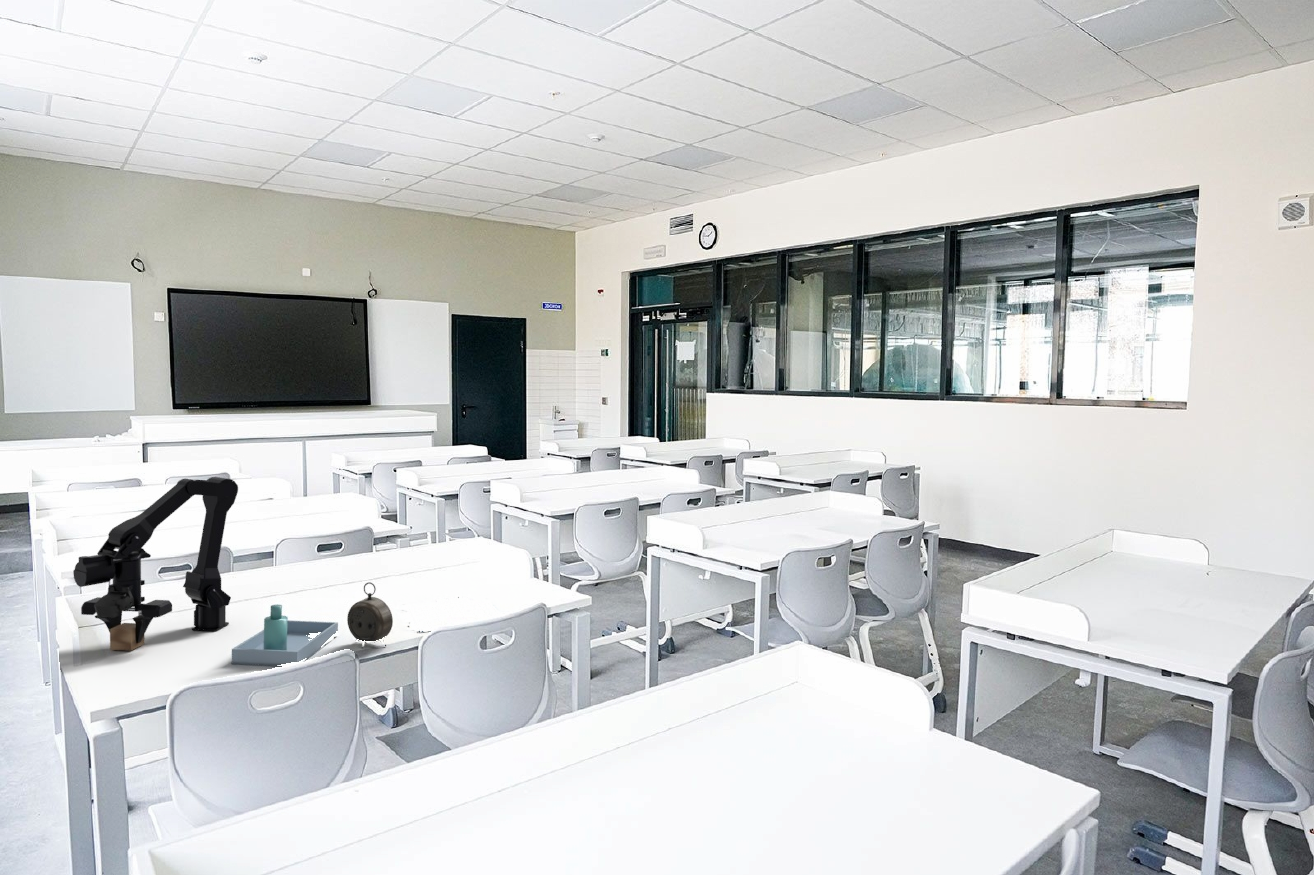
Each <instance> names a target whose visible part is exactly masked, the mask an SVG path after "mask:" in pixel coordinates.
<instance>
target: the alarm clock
mask: <svg viewBox="0 0 1314 875" xmlns="http://www.w3.org/2000/svg"><path fill="white" fill-rule="evenodd" d="M367 585H372V587H373V592H369V593H368V592H366V591H367V590H366V586H367ZM376 590H377V588H376V585H375V584H374V583H373V582H370V581H368V582H366V583H365V584H364V586H363V592H364V593H365V594H366V595H367V597H365V598H364V599H362V600H359V601H357V602H355V603H354V604H353V605H351V607H350V608H349V610H348V612H347V619H346V620H347V626H348V629H349V632H350V634H351V635H352V637H354V638H355V639H356V640H357V639H359V640H362V641H364V640H365V641H376V640H378V641H380V640H379V639H382V638H383V637H384V638H386V637H387V636H388V635H389V634H390V632H391V630H392V627H393V623H394V622H393V614H392V611H391V609H390V607H389V606H388V605H387V604H386V602H385V601H383V600H382V599H381V598H379V597H376V596H373V595H374V594H375V593H376ZM385 636H386V637H385ZM384 638H383V639H384ZM359 640H358V641H359ZM376 642H377V641H376Z"/></svg>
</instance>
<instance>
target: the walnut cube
mask: <svg viewBox="0 0 1314 875" xmlns="http://www.w3.org/2000/svg"><path fill="white" fill-rule="evenodd" d="M143 645H145V635H144V636H143V638H142V640H141V642H140V643H136V623H135V622H123V623H121V624H120V625H118V626H116V627H113V628H111V629H110V632H109V650H111V651H133V650H135V649H137V648H139V647H141V646H143Z"/></svg>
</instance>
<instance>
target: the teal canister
mask: <svg viewBox="0 0 1314 875" xmlns="http://www.w3.org/2000/svg"><path fill="white" fill-rule="evenodd" d="M263 620H264V621H263V630H264V647H263V650H286V651H287V620H289V619H288V616H286V615H283V604H272V605H270V615H269V616H266V617H264V619H263Z"/></svg>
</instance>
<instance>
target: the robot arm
mask: <svg viewBox="0 0 1314 875" xmlns="http://www.w3.org/2000/svg"><path fill="white" fill-rule="evenodd" d="M238 493H239V485H238V484H237V483H236V481H235V480H233V479H231V478H225V477H220V476H211V477H208V478H207V479H190V478H182V479H179V480H178V481H177V483H176V484H175V485H174V486H172V487H171V489H169V490H168V491H167V492H165V493H164V494H163V495H162V496H161V497H159V498H158V499H157V500H156V501H154V502H153V503H152V504H151V505H149V507H147V508H146V509H144V511H142V513H140V514H138V515H136V516H134V517H131V518H129V519H127V520H125V521H122V522H121V523H119V524H118V525H116V526H115V527H113V528H112V529H110V531H109V533H107V534H108V535H107V537H108V538H107V540H106V541H105V542H104V543H103V545H102V546H101V547H100V549H99V550H98V552H97V553H96V555H95V554H94V555H84V556H79V557H78V562H77V563H76V564H75V566H74V569H73V574H72V575H73V578H74V582H75V583H76V585H77V586H78V587H80V588H82V587H88V586H94V585H100V584H105V583H109V582H110V581H111V580H112V584H108V588H107V593H106V594H104V595H103V596H102V597H100V596H99V597H97V596H96V597H95V598H92V599H90V600H87V601H84V602H83V604H82V605H81V607H80V613H81V615H84V616H85V615H86V616H87V615H88V616H93V615H94V618H95V619H98V620H100V621H102V622H103V623H104V624H105V626H106V628H107V629H108V632H109V633H110V629H111V628H113V627H116V626H118V625H120V624H122V616H123V612H135V613H136V612H138V613H137V614H138V615H137V616H134V617H132V620H133V621H134V623H136V643H140V642H141V640H142V638H143V636H144V637H145V634H146V633H147V629H148V627H149V625H150V624H151V622H152V621H153V619H154V618H160V617H162V616H164V615H167V614H169V613H171V612H173V604H172V602H171V601H170V600H169V599H166V600H165V599H155V600H151V601H149V602H147V603H143V602H145V601H146V599H145V596H142V586H144V585H145V582H146V581H145V580H143V579H142V559H147V558H151V556H152V555H151V554H150V553H148V552H147V551H145V549H144V548H143V547H144V546H145V545H146V544H147V543H148V542H149V540H150V539H151V538H152V536H153V534H154V531H155V530H156V529H157V527H158V526H159V525H160V524H162V523H163V522H164V521H165V520H167V519H168V518H169V517H170V516H171V515H172V514H173V513H175V512H176V511H177V510H178V509H179V508H181V507H182V506H184V504H185V503H186V502H188V501H189V500H190V499H192V497H194V496H202V502H203V505H204V508H205V516H204V522H203V527H202V532H201V533H202V534H201V538H200V545H199V551H198V556H197V561H196V562H197V563H196V565H195V567H194V568H193V570H192V571H186V573H185V581H184V583H183V586H182V588H184V593H185V595H186V596H187V597H188V598H190V599H191V603H192V604H194V605H195V610H193V627H192V628H191V631H203V632H204V631H205V632H207V631H208V632H217V631H220V630H221V629H223V628H224V627H227V626H228V625H229V623H230V622H229V621H226V620H227V619H226V615H227V614H226V613H227V612H226V606H229V605H230V601H231V598H232V597H231V596H230V595H229V594H228V593H226V591H223V590H222V577H221V573H220V571H219V561H220V556H221V555H220V554H221V550H222V549H221V548H222V544H223V543H222V542H223V536H224V532H225V526H226V520H227V514H228V512H229V510H230V509H231V508H232V507H233V505H234V504H235V503H236V502H235V501H236V499H237V496H238ZM95 614H96V615H95Z"/></svg>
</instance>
